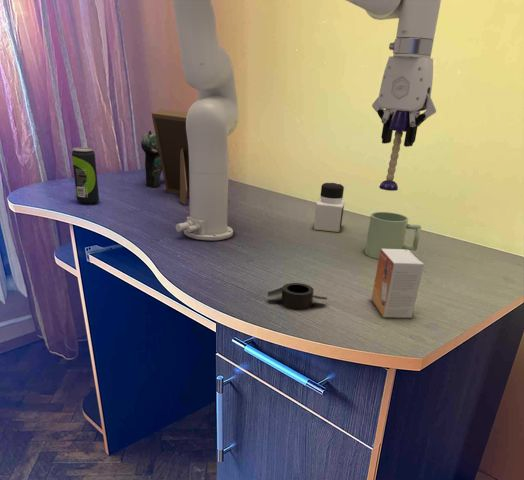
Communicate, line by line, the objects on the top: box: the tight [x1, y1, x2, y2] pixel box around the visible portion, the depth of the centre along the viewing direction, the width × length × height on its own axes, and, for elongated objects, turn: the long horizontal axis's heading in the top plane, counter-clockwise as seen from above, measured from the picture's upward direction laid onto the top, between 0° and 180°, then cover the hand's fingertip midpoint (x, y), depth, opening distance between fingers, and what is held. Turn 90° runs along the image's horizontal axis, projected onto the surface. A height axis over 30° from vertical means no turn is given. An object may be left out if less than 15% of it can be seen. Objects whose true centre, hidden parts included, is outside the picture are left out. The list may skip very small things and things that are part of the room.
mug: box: [364, 211, 422, 260], centre depth 124 cm, size 12×9×9 cm
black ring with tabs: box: [267, 282, 328, 311], centre depth 96 cm, size 8×10×3 cm
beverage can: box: [71, 147, 100, 206], centre depth 149 cm, size 6×6×15 cm
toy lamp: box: [378, 110, 410, 192], centre depth 115 cm, size 5×5×17 cm
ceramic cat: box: [140, 130, 163, 188], centre depth 178 cm, size 20×6×20 cm, turn 147°
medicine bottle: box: [313, 182, 345, 233], centre depth 141 cm, size 7×7×12 cm
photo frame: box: [151, 108, 190, 206], centre depth 159 cm, size 15×22×25 cm
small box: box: [370, 249, 425, 319], centre depth 94 cm, size 8×6×10 cm
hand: (397, 143), depth 114 cm, fingers closed on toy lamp, 4 cm apart
